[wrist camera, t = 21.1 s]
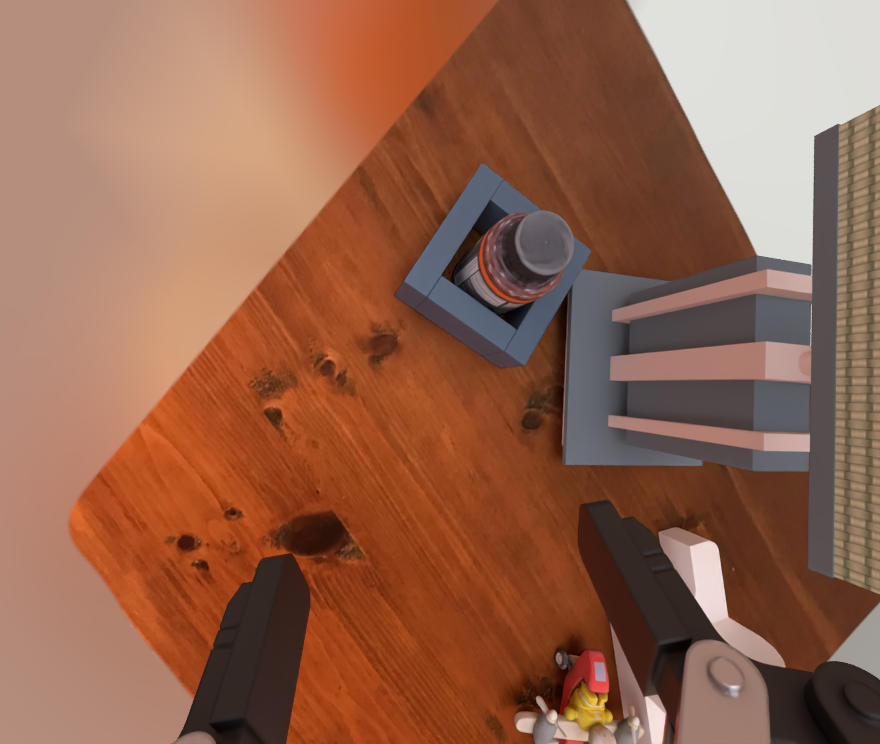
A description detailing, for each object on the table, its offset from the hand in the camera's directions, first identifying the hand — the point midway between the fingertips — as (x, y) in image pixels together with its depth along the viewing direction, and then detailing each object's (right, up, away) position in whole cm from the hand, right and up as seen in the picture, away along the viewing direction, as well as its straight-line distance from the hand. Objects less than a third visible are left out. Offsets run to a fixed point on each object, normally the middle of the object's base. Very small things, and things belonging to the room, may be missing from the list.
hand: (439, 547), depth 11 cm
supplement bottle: (+4, +12, +24) cm, 28 cm away
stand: (+4, +13, +24) cm, 28 cm away
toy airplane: (+11, -24, +25) cm, 36 cm away
